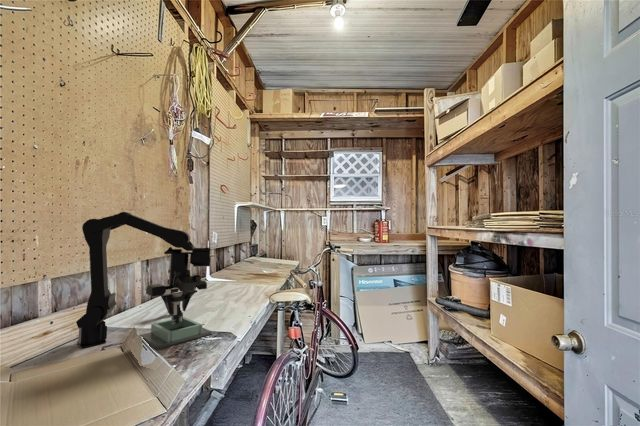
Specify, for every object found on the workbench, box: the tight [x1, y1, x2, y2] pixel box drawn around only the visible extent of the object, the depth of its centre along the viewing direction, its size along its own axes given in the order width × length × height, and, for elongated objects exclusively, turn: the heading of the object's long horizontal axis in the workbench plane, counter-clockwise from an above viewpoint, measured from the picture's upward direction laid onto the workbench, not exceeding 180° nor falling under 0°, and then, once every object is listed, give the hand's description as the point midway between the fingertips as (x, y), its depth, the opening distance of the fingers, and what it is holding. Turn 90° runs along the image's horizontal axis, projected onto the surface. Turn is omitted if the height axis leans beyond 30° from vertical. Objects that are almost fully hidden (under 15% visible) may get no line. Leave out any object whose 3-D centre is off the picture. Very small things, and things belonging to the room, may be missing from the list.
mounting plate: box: [139, 326, 212, 350], centre depth 104 cm, size 18×14×1 cm
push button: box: [171, 291, 185, 324], centre depth 104 cm, size 7×5×10 cm
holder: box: [150, 316, 203, 343], centre depth 104 cm, size 11×13×3 cm
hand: (176, 312), depth 104 cm, fingers closed on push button, 4 cm apart
